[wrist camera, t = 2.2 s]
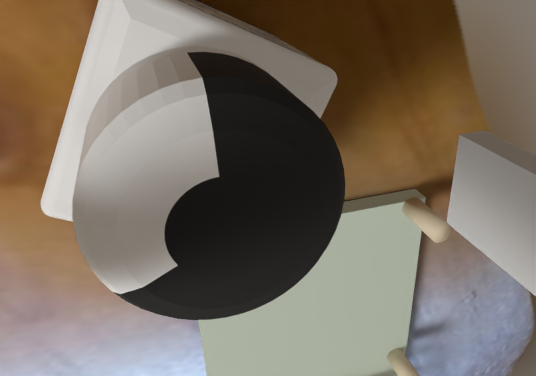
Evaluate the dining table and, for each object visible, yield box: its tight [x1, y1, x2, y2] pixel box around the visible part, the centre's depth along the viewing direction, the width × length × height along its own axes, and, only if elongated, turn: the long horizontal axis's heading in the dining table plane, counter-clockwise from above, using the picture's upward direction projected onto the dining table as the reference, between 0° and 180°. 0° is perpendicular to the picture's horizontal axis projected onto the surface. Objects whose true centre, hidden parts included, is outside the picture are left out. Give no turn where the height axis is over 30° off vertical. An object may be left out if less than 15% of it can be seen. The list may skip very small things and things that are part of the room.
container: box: [41, 0, 345, 320], centre depth 16 cm, size 8×8×13 cm
